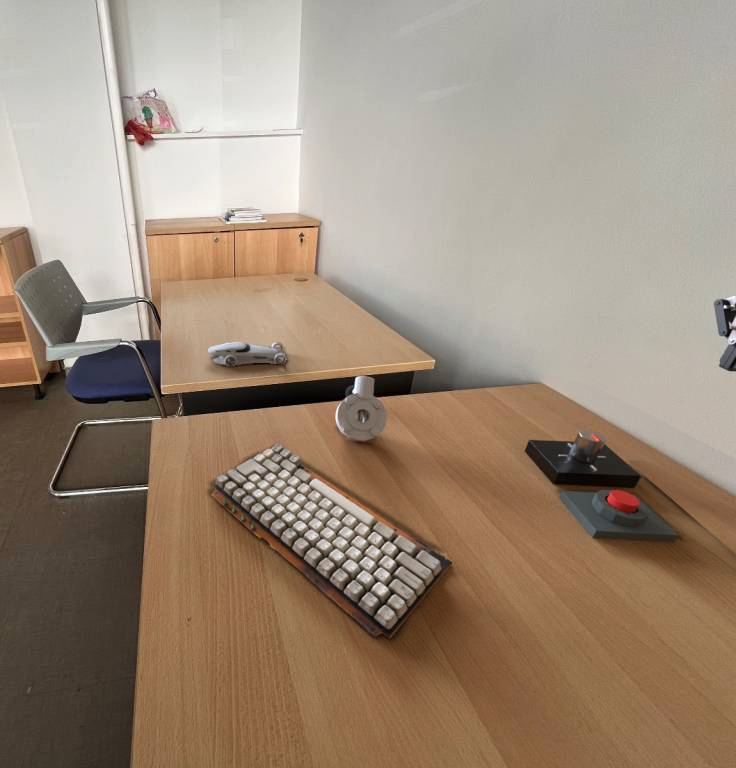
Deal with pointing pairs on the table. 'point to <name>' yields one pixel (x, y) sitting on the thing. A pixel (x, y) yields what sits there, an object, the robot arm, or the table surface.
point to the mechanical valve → (361, 411)
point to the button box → (616, 518)
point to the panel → (580, 466)
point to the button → (623, 501)
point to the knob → (587, 446)
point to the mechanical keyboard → (332, 539)
